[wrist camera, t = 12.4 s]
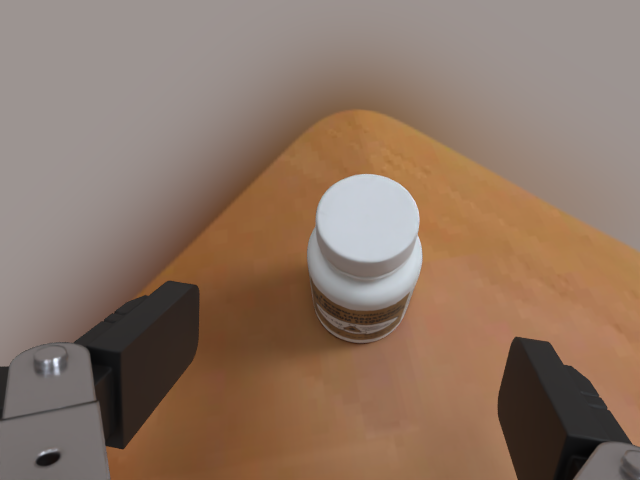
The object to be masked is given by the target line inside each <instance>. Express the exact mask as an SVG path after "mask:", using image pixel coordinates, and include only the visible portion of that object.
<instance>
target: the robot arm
mask: <svg viewBox="0 0 640 480" xmlns="http://www.w3.org/2000/svg"><path fill="white" fill-rule="evenodd" d="M198 337H199V288H198V286H197V285H193V284H187V283H180V282H174V281H167V282H166V283H164V284H163V285H162V286H160V287H159V288H158V289H157V290H155V291H154V292H153V293H152V294H150V295H149V296H147V295H145V296H142V297H139V298H137V299H134V300H131V301H129V302H127V303H125V304H124V305H123V306H122V307H120V308H119V309H117V310H116V311H115V313H114V314H113V313H112V314H111V315H109V316H108V317H107V318H105V319H104V322H103V321H102V322H100V323H99V324H98V325H96V326H95V327H94V328H92V329H91V330H90V331H88V332H87V333H86V334H84V335H83V336H82V337H80V338H79V339H78V340H76V341H75V342H74V343H69V342H56V343H49V344H43V345H40V346H36V347H33V348H30V349H28V350H26V351H24V352H22V353H20V354H19V355H18V356H16V357H15V358H14V359H13V360H12V362H11V363H10V365H9V367H0V480H110V473H109V466H108V459H107V452H106V446H109V447H114V448H119V449H124V448H125V447H126V445H127V444H128V443H129V442H130V440H131V439H132V438H133V436H134V435H135V434H136V433H137V431H138V430H139V429H140V428H141V426H142V425H143V424H144V422H145V421H146V420H147V419H148V417H149V416H150V415H151V413H152V412H153V411H154V410H155V408H156V407H157V406H158V404H159V403H160V402H161V401H162V399H163V398H164V397H165V396H166V394H167V393H168V392H169V390H170V389H171V388H172V387H173V385H174V384H175V383H176V381H177V380H178V379H179V378H180V376H181V375H182V374H183V372H184V371H185V370H186V369H187V367H188V366H189V365H190V364H191V362H192V360H193V358H194V356H195V353H196V350H197V346H198ZM498 417H499V421H500V424H501V427H502V431H503V434H504V437H505V440H506V443H507V447H508V450H509V453H510V456H511V459H512V462H513V466H514V469H515V472H516V475H517V478H518V480H640V447H638V446H635V445H633V444H632V443H631V441H630V440H629V438H628V437H627V435H626V434H625V433H624V431H623V430H622V428H621V427H620V425H619V424H618V422H617V421H616V419H615V418H614V416H613V415H612V413H611V412H610V410H607V406H606V404H605V403H604V402H603V400H602V399H601V398H599V394H598V393H597V391H596V390H595V388H594V387H593V385H592V384H591V382H590V381H589V380H588V379H587V378H586V377H584V376H583V375H582V374H581V373H579V372H578V371H577V370H576V369H574V368H573V367H572V366H568V365H563V363H562V361H561V360H560V358H559V356H558V355H557V353H556V352H555V350H554V348H553V347H552V345H551V344H550V343H549V342H546V341H540V340H534V339H527V338H521V337H515V338H514V339H513V341H512V343H511V346H510V350H509V354H508V358H507V362H506V366H505V370H504V374H503V378H502V382H501V386H500V390H499V395H498Z"/></svg>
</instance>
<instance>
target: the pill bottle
mask: <svg viewBox="0 0 640 480" xmlns="http://www.w3.org/2000/svg"><path fill="white" fill-rule="evenodd" d="M418 229H419V211H418V208H417V205H416V203H415V201H414V199H413V198H412V196H411V195H410V193H409V192H408V191H407V190H406V189H405V188H404V187H403V186H402V185H400V184H399V183H397V182H395V181H393V180H391V179H389V178H386V177H383V176H379V175H373V174H361V175H355V176H351V177H348V178H345V179H343V180H340V181H339V182H337V183H335V184H334V185H333V186H331V187H330V188H329V189H328V190H327V191H326V192H325V194H324V195H323V196H322V198H321V200H320V202H319V204H318V207H317V211H316V227H315V228H314V230H313V232H312V234H311V236H310V239H309V243H308V249H307V260H308V269H309V276H310V283H311V291H312V297H313V303H314V308H315V312H316V314H317V316H318V318H319V320H320V322H321V323H322V324H323V326H324V327H325V328H326V329H327V330H328V331H329V332H330V333H332V334H333V335H335V336H336V337H338V338H340V339H343V340H346V341H349V342H355V343H368V342H373V341H377V340H379V339H382V338H383V337H385V336H387V335H389V334H390V333H391V332H392V331H393V330H395V329H396V328H397V326H398V325H399V324H400V322H401V321H402V319H403V317H404V314H405V312H406V310H407V307H408V304H409V301H410V298H411V296H412V293H413V290H414V287H415V285H416V282H417V280H418V277H419V274H420V270H421V266H422V247H421V243H420V240H419V237H418V235H417V234H418Z"/></svg>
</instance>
